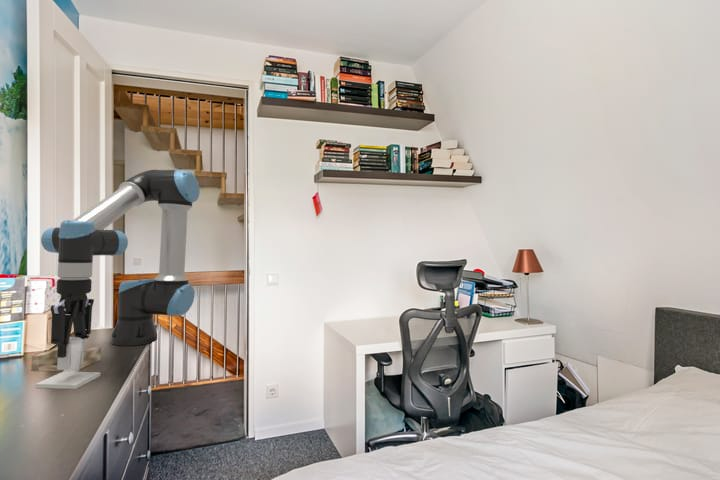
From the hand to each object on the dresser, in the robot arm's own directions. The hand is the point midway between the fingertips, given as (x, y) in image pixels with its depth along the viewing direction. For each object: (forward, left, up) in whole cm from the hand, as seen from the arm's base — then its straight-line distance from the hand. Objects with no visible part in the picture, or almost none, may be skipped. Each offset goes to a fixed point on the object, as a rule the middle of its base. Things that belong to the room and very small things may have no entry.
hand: (70, 366), depth 105 cm
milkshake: (0, 0, -2) cm, 2 cm away
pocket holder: (-14, -10, -4) cm, 18 cm away
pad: (0, 0, -4) cm, 4 cm away
